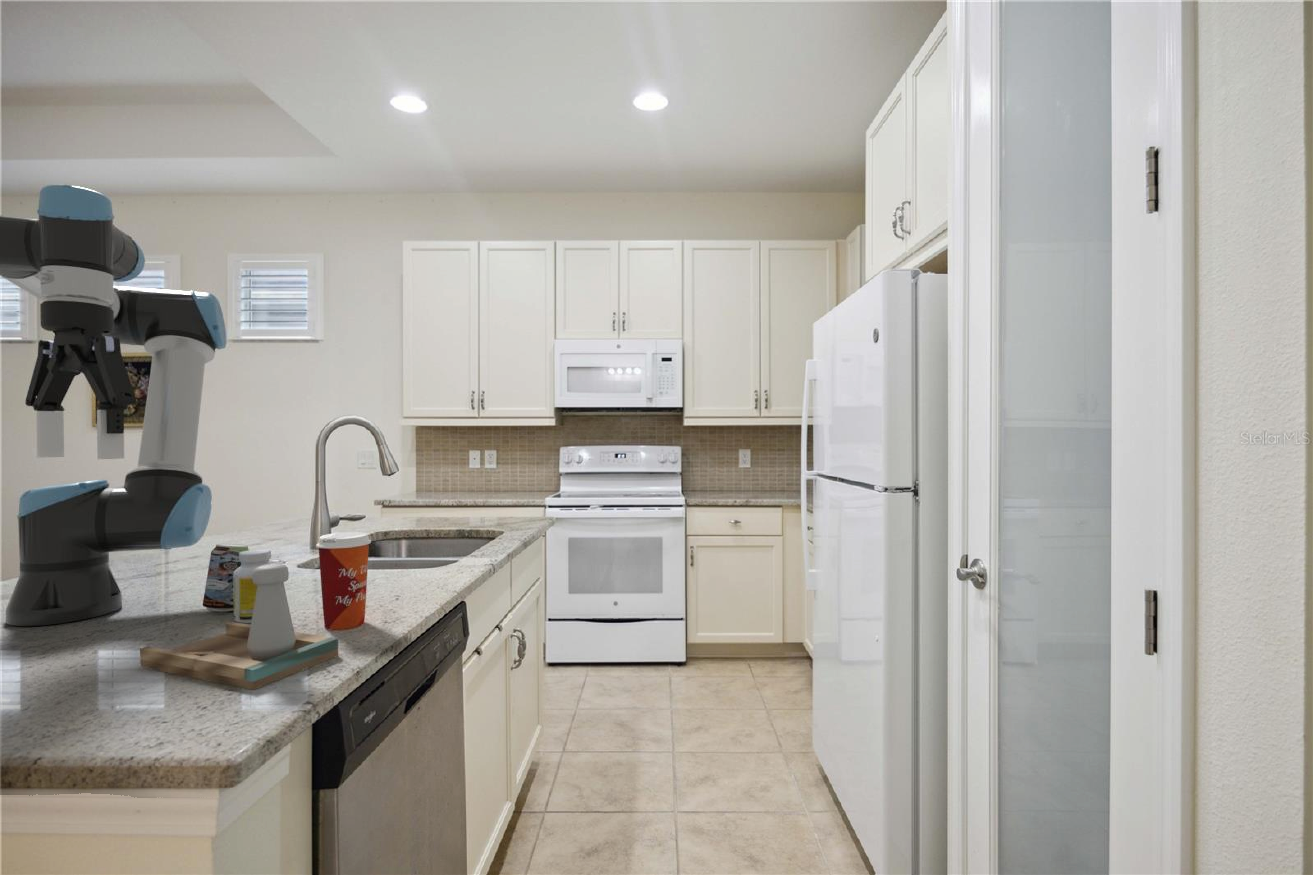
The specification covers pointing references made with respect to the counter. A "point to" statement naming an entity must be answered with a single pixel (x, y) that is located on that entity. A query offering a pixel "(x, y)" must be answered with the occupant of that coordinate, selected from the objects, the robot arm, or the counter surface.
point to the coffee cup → (343, 578)
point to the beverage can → (222, 576)
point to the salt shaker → (270, 615)
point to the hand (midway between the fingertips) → (80, 458)
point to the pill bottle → (247, 583)
